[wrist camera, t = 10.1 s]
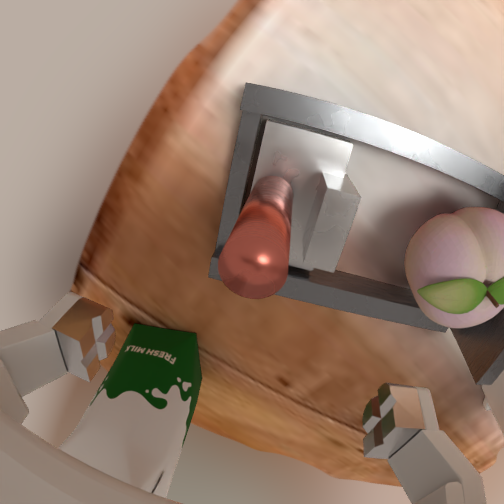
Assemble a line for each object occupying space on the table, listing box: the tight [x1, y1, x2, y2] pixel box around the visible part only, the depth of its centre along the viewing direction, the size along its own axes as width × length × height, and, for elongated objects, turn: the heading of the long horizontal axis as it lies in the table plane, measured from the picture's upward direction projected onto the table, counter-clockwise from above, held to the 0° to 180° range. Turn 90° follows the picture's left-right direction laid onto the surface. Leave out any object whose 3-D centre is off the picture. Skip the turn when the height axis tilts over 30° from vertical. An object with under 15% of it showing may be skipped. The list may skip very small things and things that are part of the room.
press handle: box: [218, 119, 361, 299], centre depth 18 cm, size 6×10×12 cm, turn 168°
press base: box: [208, 83, 504, 385], centre depth 19 cm, size 24×14×9 cm, turn 78°
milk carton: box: [58, 323, 202, 498], centre depth 24 cm, size 9×9×20 cm
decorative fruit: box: [404, 207, 504, 328], centre depth 18 cm, size 9×8×10 cm
